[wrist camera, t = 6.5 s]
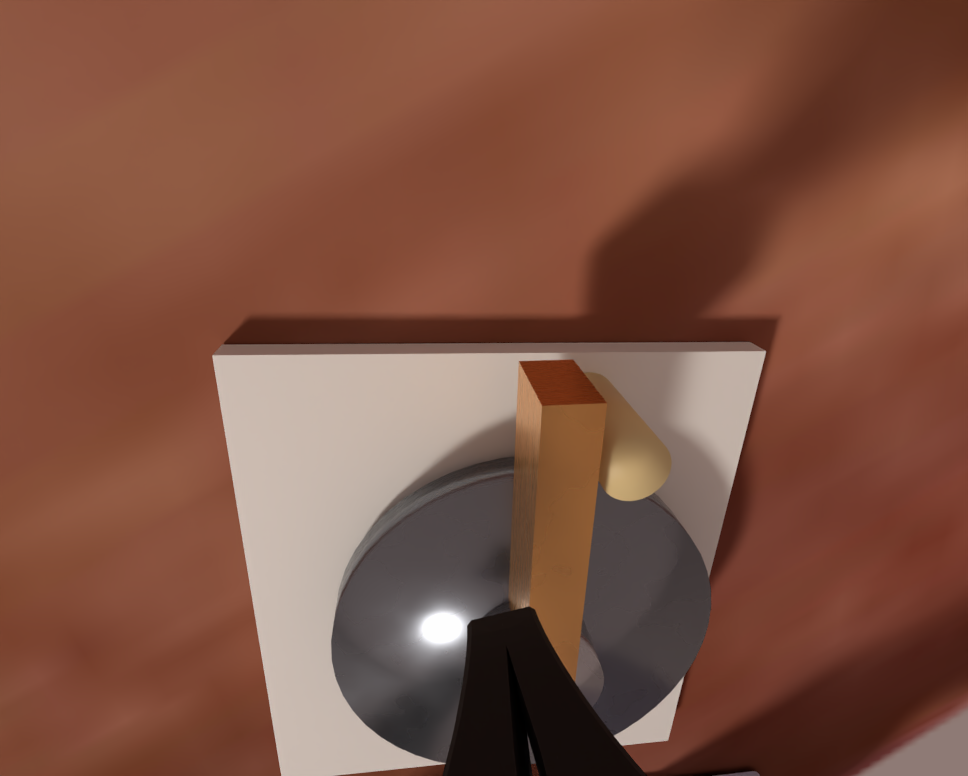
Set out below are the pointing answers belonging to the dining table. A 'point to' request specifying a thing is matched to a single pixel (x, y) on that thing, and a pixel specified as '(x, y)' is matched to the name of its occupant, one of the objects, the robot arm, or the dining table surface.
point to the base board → (424, 458)
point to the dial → (520, 577)
